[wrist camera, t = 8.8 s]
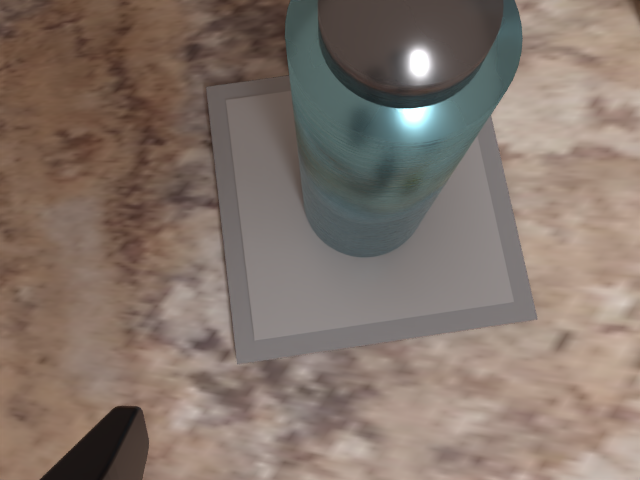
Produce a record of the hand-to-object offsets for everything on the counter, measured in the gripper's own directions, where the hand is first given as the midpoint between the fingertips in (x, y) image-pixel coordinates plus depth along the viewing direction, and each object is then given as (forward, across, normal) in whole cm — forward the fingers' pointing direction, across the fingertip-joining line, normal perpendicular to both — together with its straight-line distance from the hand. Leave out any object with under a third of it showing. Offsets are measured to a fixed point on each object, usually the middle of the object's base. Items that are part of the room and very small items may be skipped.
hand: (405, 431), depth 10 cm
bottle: (+15, 0, +3) cm, 15 cm away
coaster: (+15, 0, +4) cm, 16 cm away
